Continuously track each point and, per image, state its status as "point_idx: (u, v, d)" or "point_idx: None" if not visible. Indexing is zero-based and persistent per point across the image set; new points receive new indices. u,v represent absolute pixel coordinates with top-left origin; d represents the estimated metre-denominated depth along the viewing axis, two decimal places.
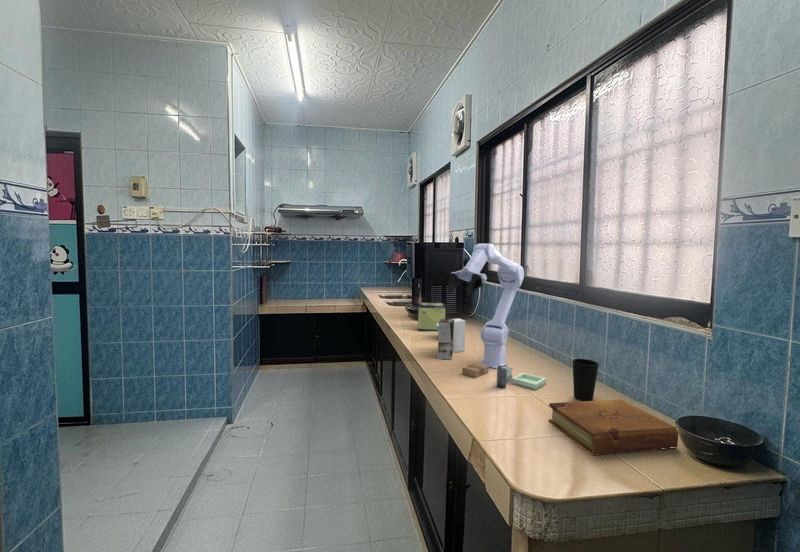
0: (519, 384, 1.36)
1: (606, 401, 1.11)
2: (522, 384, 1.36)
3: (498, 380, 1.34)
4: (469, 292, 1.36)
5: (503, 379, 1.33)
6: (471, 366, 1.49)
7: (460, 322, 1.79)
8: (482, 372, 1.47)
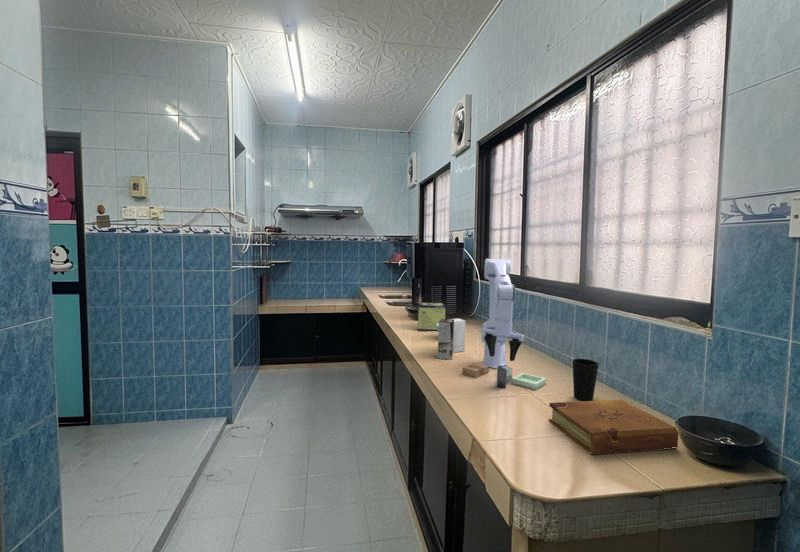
0: (519, 384, 1.36)
1: (607, 401, 1.10)
2: (522, 384, 1.36)
3: (498, 380, 1.34)
4: (513, 358, 1.32)
5: (503, 379, 1.33)
6: (471, 366, 1.49)
7: (460, 322, 1.79)
8: (482, 372, 1.47)
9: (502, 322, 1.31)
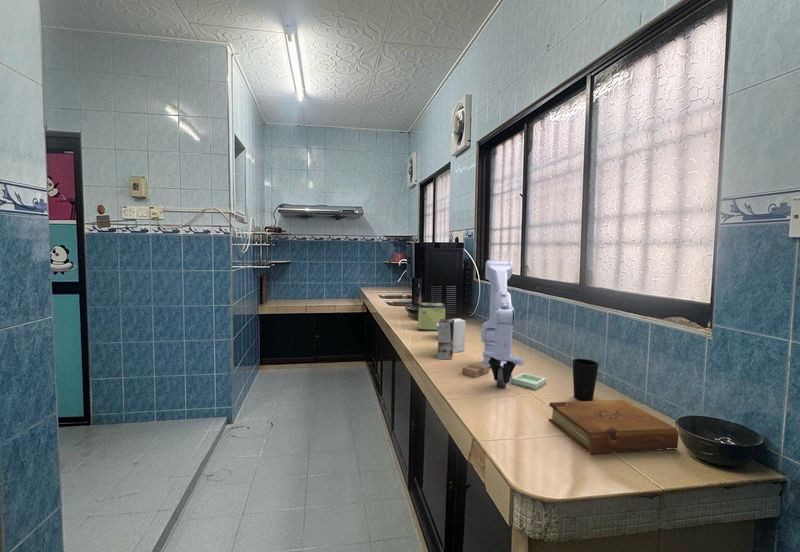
0: (519, 384, 1.36)
1: (608, 401, 1.10)
2: (522, 384, 1.36)
3: (498, 380, 1.34)
4: (508, 380, 1.34)
5: (503, 379, 1.33)
6: (471, 366, 1.49)
7: (460, 322, 1.79)
8: (482, 372, 1.47)
9: (502, 346, 1.32)
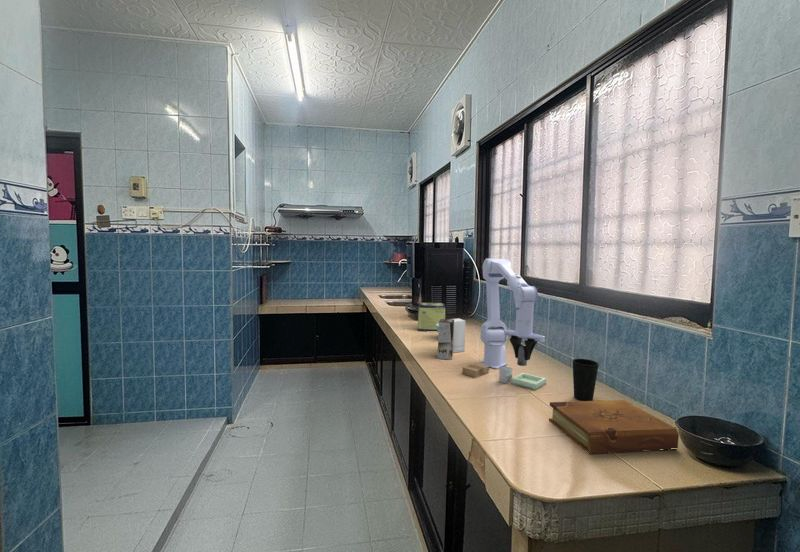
0: (519, 384, 1.36)
1: (608, 401, 1.10)
2: (522, 384, 1.36)
3: (519, 358, 1.36)
4: (529, 357, 1.36)
5: (523, 356, 1.35)
6: (471, 366, 1.49)
7: (460, 322, 1.79)
8: (482, 372, 1.47)
9: (523, 323, 1.34)
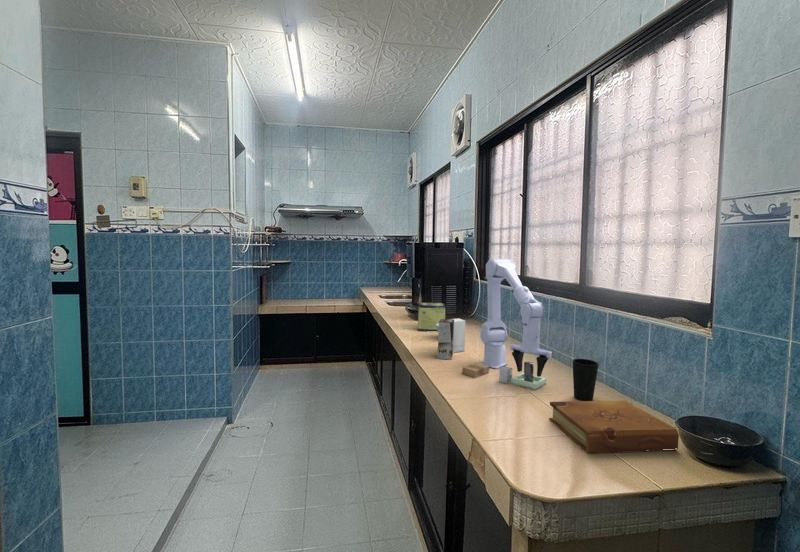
0: (519, 384, 1.36)
1: (609, 402, 1.10)
2: (522, 384, 1.36)
3: (525, 376, 1.38)
4: (540, 373, 1.36)
5: (530, 374, 1.37)
6: (471, 366, 1.49)
7: (460, 322, 1.79)
8: (482, 372, 1.47)
9: (530, 339, 1.35)
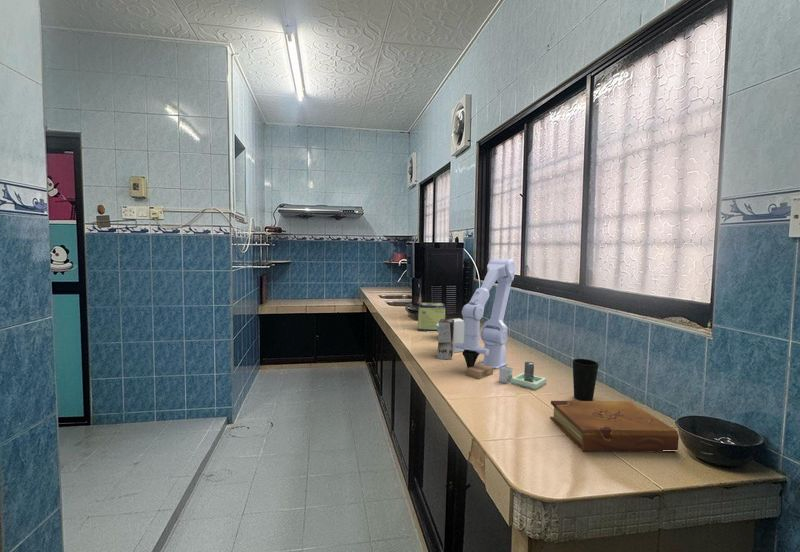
0: (519, 384, 1.36)
1: (612, 402, 1.10)
2: (522, 384, 1.36)
3: (525, 376, 1.38)
4: None
5: (530, 375, 1.37)
6: (475, 367, 1.48)
7: (460, 322, 1.79)
8: (486, 373, 1.46)
9: (470, 338, 1.47)
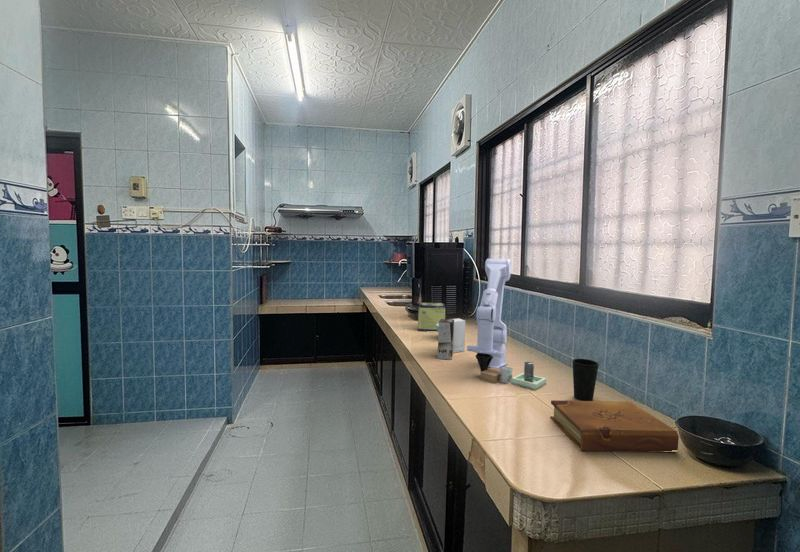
0: (519, 384, 1.36)
1: (613, 402, 1.10)
2: (522, 384, 1.36)
3: (525, 375, 1.38)
4: None
5: (530, 374, 1.37)
6: (489, 370, 1.44)
7: (460, 322, 1.79)
8: None
9: (483, 340, 1.43)
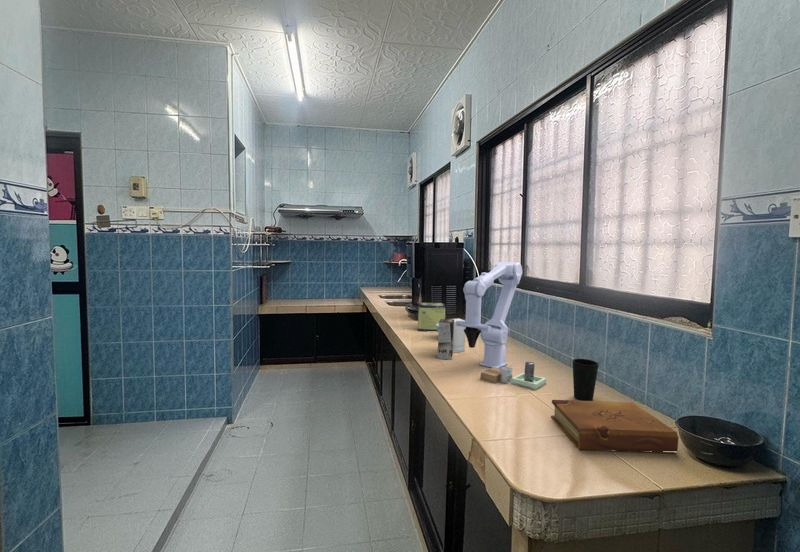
0: (519, 384, 1.36)
1: (615, 403, 1.10)
2: (522, 384, 1.36)
3: (526, 376, 1.38)
4: (474, 345, 1.49)
5: (531, 375, 1.37)
6: (489, 371, 1.44)
7: None
8: None
9: (471, 315, 1.46)
